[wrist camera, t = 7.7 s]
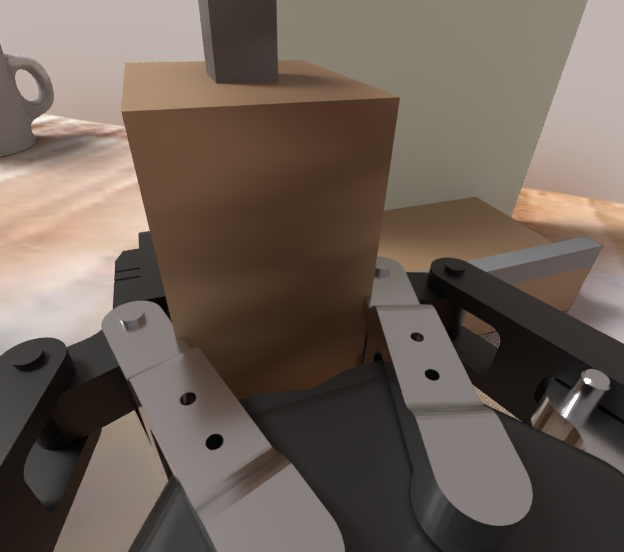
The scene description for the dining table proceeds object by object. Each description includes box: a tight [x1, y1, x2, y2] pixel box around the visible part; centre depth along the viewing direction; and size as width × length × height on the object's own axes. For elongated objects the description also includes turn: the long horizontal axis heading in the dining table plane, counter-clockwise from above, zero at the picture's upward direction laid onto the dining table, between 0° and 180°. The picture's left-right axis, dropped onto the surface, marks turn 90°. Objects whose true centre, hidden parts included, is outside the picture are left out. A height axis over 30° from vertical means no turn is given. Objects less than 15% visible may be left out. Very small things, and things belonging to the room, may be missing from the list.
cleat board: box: [277, 0, 603, 336], centre depth 18 cm, size 20×10×20 cm, turn 111°
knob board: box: [121, 0, 400, 400], centre depth 11 cm, size 4×5×14 cm
